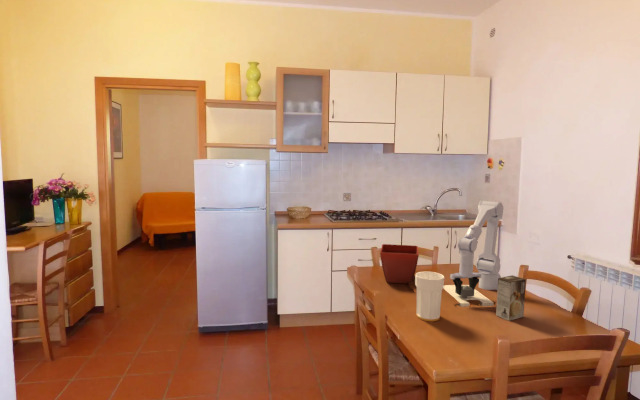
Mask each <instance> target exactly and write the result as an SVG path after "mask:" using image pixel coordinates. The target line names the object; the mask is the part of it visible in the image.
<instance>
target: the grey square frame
mask: <svg viewBox="0 0 640 400" xmlns="http://www.w3.org/2000/svg"><path fill="white" fill-rule="evenodd" d="M467 287H468V289H465V290H463V286H461V294H460V296H462V297H468V296H474V289H472V288H471V287H469V286H467ZM455 293H457V292H456V289H455Z"/></svg>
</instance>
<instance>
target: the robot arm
mask: <svg viewBox="0 0 640 400" xmlns="http://www.w3.org/2000/svg"><path fill="white" fill-rule="evenodd" d="M477 212H478V213H477V216H476V218H475V221H474V222H473V224H471V225H470V226H469V227H468V229H467V231H466V232H465V235H464V236H463V237H461V238H460V239H459V241H458V242H457V243H458V244H457V248H458V253H459V270H458V271H459V272H455V273H450V274H449V279H450V280H452V281H453V285H455V287H456V292H457V294H459V295H460V294H461V286H462V285H463V280H462V279H468V285H469V287H471V288H472V289H475V290H476V286H477V285H478V288H479V289H482V290H487V291H493V290H495V291H497V290H498V278H502V277H501V274H500V273H499V272H500V270H501V259H500V257H499V256H498V255H497V254H496V253H495V252H496V245H497V237H498V231H499V223H500V220H502V219H503V215H504V205H503V203H502V202H501V201H498V202H497V201H488V200H487V201H486V200H483V199H482V200H480V201H479V203H478V205H477ZM486 222H487V223H486ZM485 223H486V229H485V230H486V231H485V238H484V246H483V247H484V248H483V252H481V253H479V254H478V256H477V258H476V259H477V260H476V262H475V267H476V270H477V272H474V259H475V255H474V254H475V251H477V249H478V243H479V241H478V240H479V238H480V236H481V235H482V233H483V230H482V228H483V226H484V224H485Z"/></svg>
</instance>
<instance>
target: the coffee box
mask: <svg viewBox="0 0 640 400" xmlns="http://www.w3.org/2000/svg"><path fill="white" fill-rule="evenodd" d="M526 280H527V279H526V278H523V277H520V276H516V275H508V276H503V277H501V278H498V290H496V291H497V294H496V311H495V314H496V315H495V316H496V317H499V318H502V319H503V320H507V321H509V322H511V321H513V320H517V319H521V318H524V316H525V299H526V297H525V296H526Z"/></svg>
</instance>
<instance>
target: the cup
mask: <svg viewBox="0 0 640 400" xmlns="http://www.w3.org/2000/svg"><path fill="white" fill-rule="evenodd" d="M414 278H415V279H414V285H415V287H416V310H415V311H416V312H415V313H416V317H417V319H420V320H422V321H424V322H437V321H440V318H441V317H440V316H441V305H442V294H443V290H444V289H443V287H444V284H445V276H444V275H443V274H441V273H439V272H435V271H429V270H428V271H427V270H426V271H418V272H415V275H414Z"/></svg>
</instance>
